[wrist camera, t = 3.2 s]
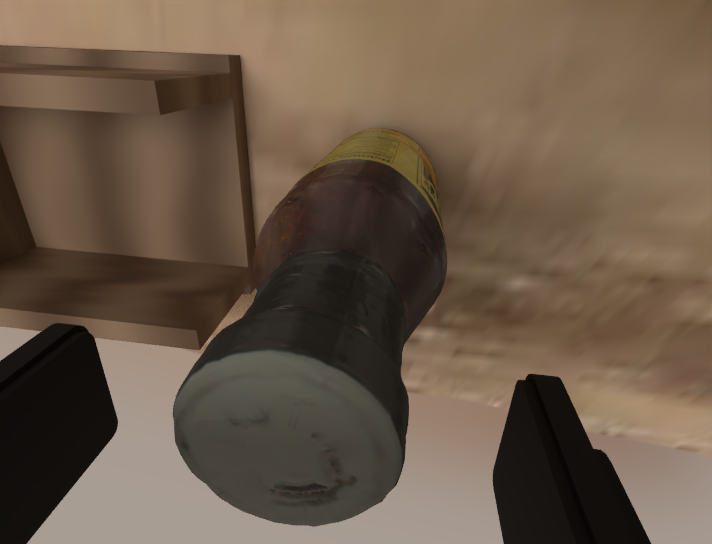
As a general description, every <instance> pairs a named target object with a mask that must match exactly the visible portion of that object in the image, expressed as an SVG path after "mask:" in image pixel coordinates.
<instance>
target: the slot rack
mask: <svg viewBox="0 0 712 544" xmlns="http://www.w3.org/2000/svg"><path fill="white" fill-rule="evenodd" d="M254 250H255V236H254V224H253V212H252V200H251V187H250V175H249V163H248V151H247V138H246V126H245V114H244V102H243V89H242V77H241V65H240V55H216V54H192V53H168V52H144V51H120V50H97V49H73V48H49V47H25V46H1V45H0V326H2V327H11V328H19V329H27V330H36V331H43V330H44V329H46V328H47V327H49V326H50V325H52V324H54V323H64V324H73V325H81V326H84V327H86V328H87V329H88V331H89V333H91V334H92V335H93V337H94V338H103V339H111V340H119V341H127V342H136V343H144V344H152V345H161V346H169V347H177V348H186V349H194V350H200V349H201V348H202V347H203V345H204V344H205V343H206V341H207V340H208V339H209V337H210V336H211V335H212V333H213V332H214V331H215V329H216V328H217V327H218V325H219V324H220V323H221V321H222V320H223V319H224V317H225V316H226V315H227V313H228V312H229V311H230V309H231V308H232V307H233V305H234V304H235V303H236V301H237V300H238V299H239V297H240V296H241V295H242V294H251V293H252V292H253V290H254V289H255V288H256V286H255V282H254V274H253V266H252V260H253V257H254Z"/></svg>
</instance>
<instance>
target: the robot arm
mask: <svg viewBox="0 0 712 544" xmlns="http://www.w3.org/2000/svg"><path fill="white" fill-rule="evenodd" d="M117 424H118V420H117V416H116V412H115V409H114V405H113V402H112V398H111V395H110V391H109V388H108V385H107V381H106V377H105V374H104V370H103V367H102V363H101V361H100V356H99V353H98V349H97V346H96V342H95V339H94V337H93V335H92V334H91V333H89V331H88V329H87V328H86V327H84V326H81V325H73V324H64V323H54V324H52V325H50V326H49V327H47V328H46V329H44V330H43V331H42V332H40V333H39V334H37V335H36V336H35V337H33V338H32V339H30V340H29V341H28V342H26V343H25V344H23V345H22V346H21V347H19V348H18V349H17V350H15V351H14V352H12V353H11V354H10V355H8V356H7V357H5V358H4V359H3V360H1V361H0V544H27V542H28V541H29V540H30V539H31V537H32V536H33V535H34V534H35V532H36V531H37V530H38V529H39V528H40V526H41V525H42V524H43V522H44V521H45V520H46V519H47V518H48V516H49V515H50V514H51V513H52V511H53V510H54V509H55V508H56V507H57V505H58V504H59V503H60V502H61V500H62V499H63V497H65V495H66V494H67V493H68V492H69V490H70V489H71V488H72V487H73V486H74V484H75V483H76V482H77V481H78V479H79V478H80V477H81V476H82V474H83V473H84V472H85V471H86V469H87V468H88V467H89V466H90V465H91V463H92V462H93V461H94V459H95V458H96V457H97V456H98V455H99V453H100V452H101V451H102V450H103V448H104V447H105V446H106V445H107V444H108V442H109V441H110V440H111V439H112V437H113V436H114V434H115V432H116V430H117V426H118V425H117ZM493 487H494V493H495V499H496V504H497V509H498V515H499V520H500V526H501V531H502V536H503V541H504V544H651V542H650V540H649V538H648V536H647V534H646V532H645V530H644V529H643V526H642V524H641V522H640V520H639V518H638V516H637V514H636V512H635V510H634V508H633V506H632V504H631V502H630V500H629V498H628V496H627V494H626V492H625V490H624V487H623V485H622V484H621V482H620V479H619V477H618V475H617V474H616V471H615V469H614V467H613V465H612V463H611V461H610V460H609V458H608V457H607V455H606V454H605V453H604V452H603V451H601V450H597V449H593V447H592V446H591V443H590V441H589V438H588V436H587V434H586V432H585V430H584V428H583V426H582V423H581V421H580V419H579V417H578V415H577V413H576V410H575V408H574V406H573V404H572V402H571V400H570V397H569V395H568V393H567V391H566V389H565V387H564V384H563V382H562V381H561V379H560V378H559V377H555V376H546V375H537V374H528V376H527V377H526V380H518V381H517V383H516V386H515V390H514V393H513V397H512V401H511V405H510V409H509V412H508V417H507V420H506V424H505V428H504V431H503V435H502V439H501V443H500V447H499V450H498V454H497V458H496V462H495V466H494V470H493Z"/></svg>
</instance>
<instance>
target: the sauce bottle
mask: <svg viewBox="0 0 712 544" xmlns="http://www.w3.org/2000/svg"><path fill="white" fill-rule="evenodd" d="M252 266H253V274H254V282H255V286H256V289H257V293H256V296H255V299H254V302H253V304H252V305H251V306H250V307H249V309H248V310H247V312H246V313H245V315H244V316H243V317H242V318H241V319H239V320H238V321H236V322H234V323H233V324H231V325H229V326H228V327H226V328H224V329H223V330H222V331H221V332H220V333H219V334H218V335H216V336H215V337H214V338H213V339H212V340H211V342H210V343H209V345H208V346H207V348H206V350H205V351H204V353H203V354H202V355H201V357H200V358H199V359H198V361H197V362H196V363H195V364H194V366H193V368H192V369H191V371H190V373H189V374H188V376H187V377H186V379H185V381H184V382H183V384H182V385H181V387H180V389H179V391H178V393H177V395H176V399H175V402H174V408H173V417H174V430H175V442H176V445H177V447H178V449H179V452H180V454H181V456H182V458H183V459H184V461H185V463H186V464H187V466H188V467H189V469H190V470H191V472H192V473H193V474H194V475H195V476H196V477H197V478H199V479H200V480H201V481H203V482H204V483H206V484H207V485H208V487H209V488H210V489H211V490H212V491H213V492H214V493H215V494H216V495H217V496H219V497H220V498H221V499H222V500H224V501H226V502H228V503H229V504H231V505H232V506H234V507H236V508H238V509H240V510H242V511H244V512H246V513H249V514H252V515H255V516H257V517H260V518H263V519H266V520H269V521H272V522H277V523H283V524H290V525H309V526H319V525H325V524H329V523H335V522H340V521H343V520H346V519H349V518H352V517H354V516H356V515H358V514H360V513H362V512H364V511H366V510H367V509H369V508H371V507H372V506H374V505H376V504H378V503H380V502H382V501H383V499H384V498H385V497H386V495H387V494H388V493H389V492H390V491H391V490H392V489H393V488H394V487H395V486H396V485H397V482H398V480H399V477H400V475H401V472H402V468H403V464H404V460H405V444H406V433H407V426H408V417H409V403H408V394H407V391H406V388H405V386H404V383H403V381H402V378H401V365H402V351H403V347H404V344H405V342H406V341H407V340H408V338H409V337H410V335H411V334H412V333H413V331H414V330H415V329H416V327H417V326H418V325H419V323H420V322H421V320H422V319H423V318H424V316H425V315H426V313H427V312H428V311H429V309H430V308H431V307H432V306H433V304H434V302H435V301H436V299H437V297H438V296H439V294H440V292H441V290H442V287H443V284H444V280H445V276H446V270H447V252H446V243H445V235H444V231H443V225H442V217H441V211H440V206H439V198H438V193H437V186H436V179H435V174H434V170H433V167H432V164H431V162H430V160H429V158H428V157H427V155H426V154H425V152H424V151H423V149H422V148H421V147H420V146H419V145H418V144H417V143H416V142H415V141H413V140H412V139H410V138H409V137H407V136H405V135H403V134H401V133H399V132H397V131H394V130H387V129H368V130H365V131H361V132H359V133H356V134H354V135H352V136H350V137H349V138H347V139H346V140H344V141H343V142H342V143H341V144H340V145H338V146H337V147H336V148H335V149H334V150H333V151H332V152H331V153H330V154H328V155H327V156H326V157H325V158H324V159H323V160H322V161H320V162H319V163H318V164H317V165H316V166H315V167H314V168H313V169H311V170H310V171H309V172H308V173H307V174H306V175H305V176H303V177H302V178H301V179H300V180H299V181H298V182H297V183H296V184H295V185H294V186H293V188H292V189H291V190H290V191H289V193H288V194H287V196H286V197H285V198H284V199H283V200H282V201H281V202H280V203H279V204H278V205H277V206H276V207H275V209H274V210H273V212H272V213H271V215H270V216H269V218H268V219H267V220H266V223H265V224H264V226H263V228H262V230H261V232H260V234H259V237H258V242H257V244H256V248H255V250H254V257H253V260H252Z"/></svg>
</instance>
